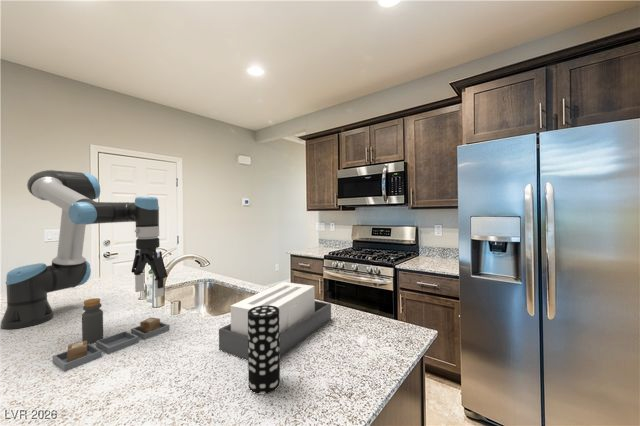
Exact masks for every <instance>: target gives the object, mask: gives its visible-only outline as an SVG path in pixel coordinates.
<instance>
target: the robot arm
mask: <svg viewBox="0 0 640 426" xmlns="http://www.w3.org/2000/svg"><path fill="white" fill-rule="evenodd" d="M26 187H27V190H28V192H29V193H30V194H31V196H33V197H35V198H36V199H39V200H40V201H48V202H50V203H51V204H53V205H55V206H57V207H58V208H60V209H61V217H60V225H59V235H58V236H59V237H58V247H57V248H58V249H57V254H56V256H55V257H54V258H52V260H51V265H47V264H46V263H43V262H41V263H33V264H26V265H23V266H18V267H15V268H13V269H11V270H9V271H8V272H7V274H6V278H5V285H6V286H5V287H6V309H5V312H4V314H3V316H2V319H1V321H0V326H1V329H3V330H15V329H16V330H17V329H22V328H23V329H24V328H28V327H32V326H36V325H39V324H42V323H45V322H48V321H50V320H51V319H53V318H54V310H53V309H52V306H51V305H50V302H49V301H48V293H52V292H57V291H61V290H67V289H70V288H72V289H73V288H76V287H79V286H83V285H84V284H85V283H87V282H88V280H89V279H90V277H91V272H92V270H91V264H90V263H89V261H87V260H86V258H85V256H83V253H84V252H83V250H84V241H85V233H86V225H94V224H110V223H111V224H112V223H115V224H117V223H132V222H133V223H135V230H134V232H135V237H136V239H135V248H136V249H135V251H134V252H135V253H134V259H133V263H132V267H131V273H133V274H134V279H135V280H134V282H135V286H134V287H135V293H139V292H143V291H145V283H144V282H145V281H144V277H145V274H144V269H145V267H146V266H147V265H148V266H150V269H151V270H152V273H153V275H154V298H155V299H158V298H160V297H164V296H165V295H164V279H165V278H167V277H168V273H167V269H166V266H165V263H164V259H163V254H162V251H157V249H158V248H160V246H161V245H160V238H159V237H160V206H159V199H158V197H156V196H136V197H135V198H134V202H133V201H132V202H124V201H123V202H121V201H119V202H114V201H113V202H110V201H109V202H108V201H107V202H105V201H103V202H102V201H101V202H100V201H95V200H96V199H98V198H99V197H100V195H101V185H100V181H98V178H97V177H96V176H94V175H93V174H91V173H86V172H78V171H62V170H56V169H55V170H54V169H49V170H41V171H39V172H35V173H34V174H33V175H31V176H30V177H29V179H28V180H27V184H26Z"/></svg>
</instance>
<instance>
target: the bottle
mask: <svg viewBox="0 0 640 426" xmlns="http://www.w3.org/2000/svg"><path fill="white" fill-rule="evenodd" d="M83 305H84V306H82V310H83V311H84V312H83V313H81V331H82V332H81V337H82V338H81V339H82V341H81V342H83V341H87V344H91V345H94V344H96V341H98V340H100V339H103V338H104V312H103V309H100V308H101V307H102V303H101V298H100V297H95V298H90V299H85V300H84V301H83Z"/></svg>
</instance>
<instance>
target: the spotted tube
mask: <svg viewBox="0 0 640 426" xmlns="http://www.w3.org/2000/svg"><path fill="white" fill-rule="evenodd" d="M280 361H281V358H280V331H279V308H278V307H275V306H270V305H264V306H257V307H254V308H251V309H250V310H249V311H248V361H247V363H248V366H247V367H248V368H247V369H248V371H247V372H248V373H247V374H248V377H247V378H248V389H249V388H250V389H249V391H250V390H252V391H253V392H255V393H254V394H256V393H267V394H269V393H268V392H270V393H272V392H271V391H273V390H274V391H276V390H277V389H278V388H279V387H278V386H280V385H279V384H281V370H280V369H281V367H280V366H281V362H280ZM277 387H278V388H277ZM276 388H277V389H276ZM275 389H276V390H275ZM274 391H273V392H274ZM253 392H252V393H253Z"/></svg>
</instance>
